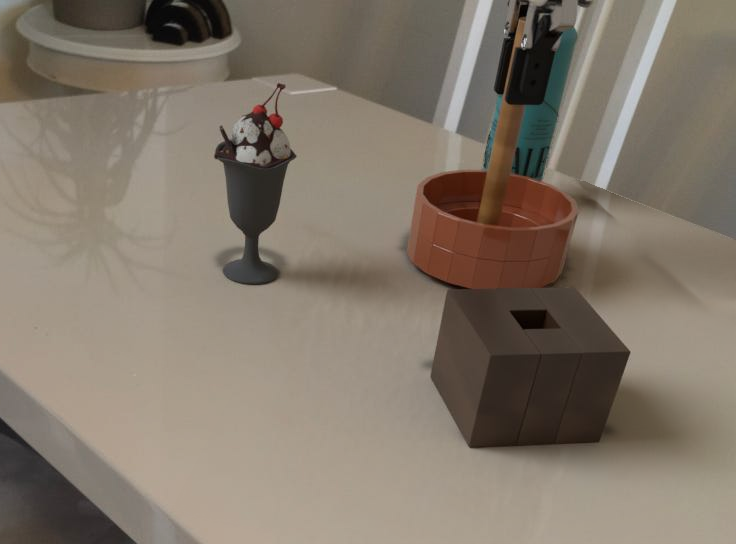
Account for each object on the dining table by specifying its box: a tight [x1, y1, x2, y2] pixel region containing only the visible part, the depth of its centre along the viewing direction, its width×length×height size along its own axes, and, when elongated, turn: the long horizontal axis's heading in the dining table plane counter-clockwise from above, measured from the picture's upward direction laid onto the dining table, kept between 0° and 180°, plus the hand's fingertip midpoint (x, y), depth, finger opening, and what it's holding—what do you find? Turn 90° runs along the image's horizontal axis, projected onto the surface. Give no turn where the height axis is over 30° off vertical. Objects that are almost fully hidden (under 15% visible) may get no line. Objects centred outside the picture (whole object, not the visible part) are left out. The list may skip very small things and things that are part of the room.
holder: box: [430, 286, 631, 448], centre depth 70 cm, size 10×10×7 cm
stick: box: [477, 17, 540, 226], centre depth 83 cm, size 2×2×18 cm
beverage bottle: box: [480, 0, 579, 182], centre depth 96 cm, size 6×7×20 cm
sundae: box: [213, 82, 298, 285], centre depth 81 cm, size 7×7×15 cm
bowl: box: [406, 169, 579, 289], centre depth 88 cm, size 14×14×6 cm
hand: (518, 96), depth 81 cm, fingers closed on stick, 2 cm apart
